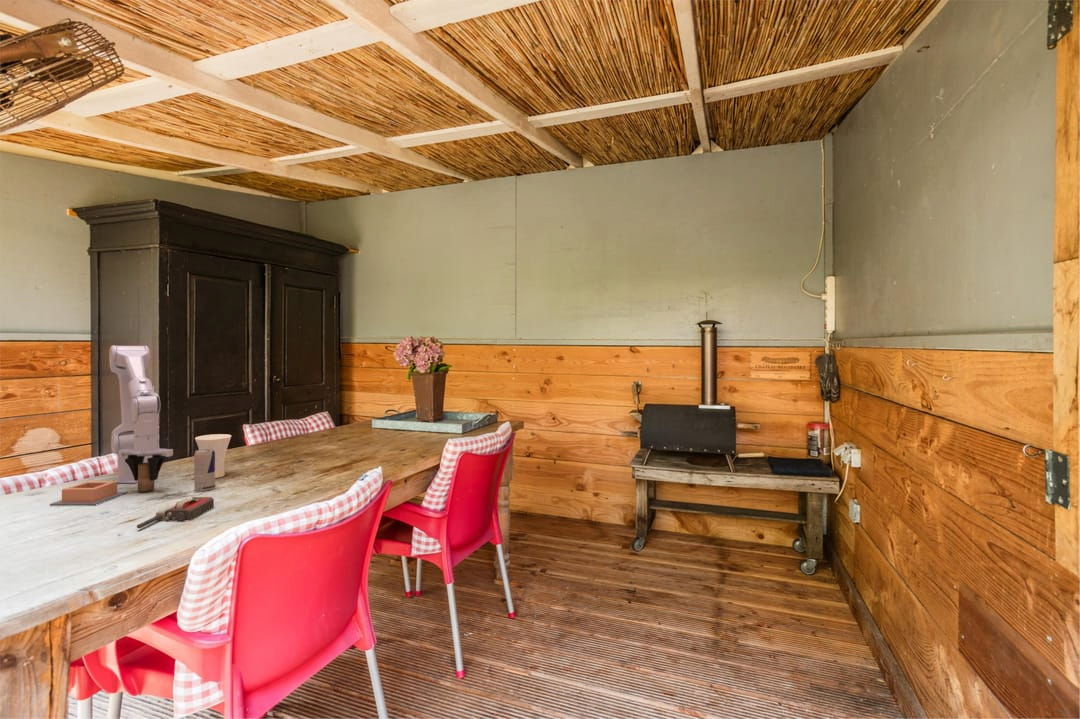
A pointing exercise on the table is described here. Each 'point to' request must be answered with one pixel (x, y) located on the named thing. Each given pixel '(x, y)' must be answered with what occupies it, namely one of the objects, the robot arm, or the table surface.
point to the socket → (89, 493)
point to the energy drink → (204, 470)
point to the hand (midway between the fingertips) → (146, 479)
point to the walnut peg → (144, 478)
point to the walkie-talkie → (183, 510)
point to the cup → (215, 449)
